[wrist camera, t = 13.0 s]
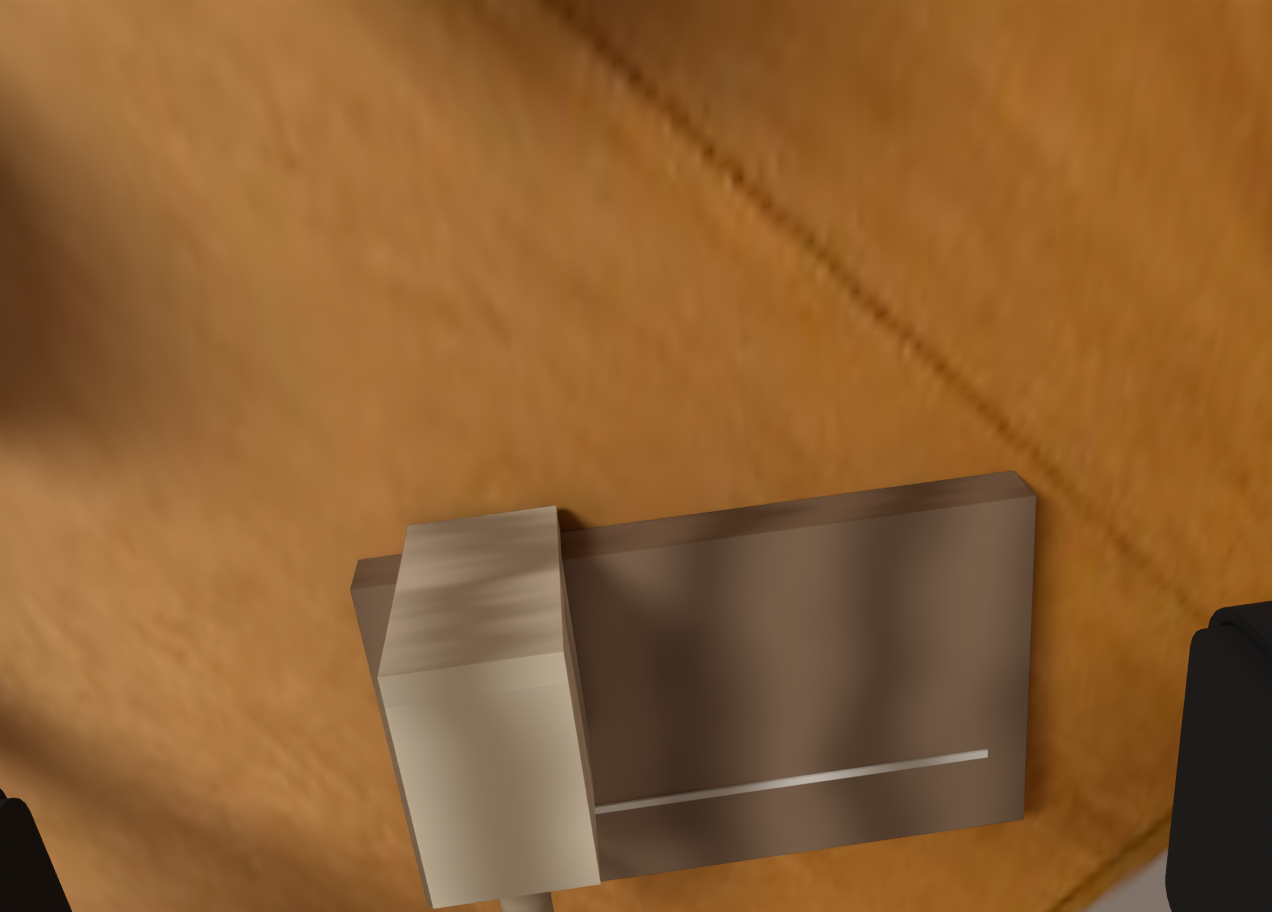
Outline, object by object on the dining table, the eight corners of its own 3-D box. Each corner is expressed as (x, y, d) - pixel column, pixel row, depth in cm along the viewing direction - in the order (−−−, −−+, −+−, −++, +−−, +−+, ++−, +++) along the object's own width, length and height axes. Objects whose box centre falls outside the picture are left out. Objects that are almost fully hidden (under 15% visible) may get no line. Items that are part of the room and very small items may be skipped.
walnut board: (1013, 470, 41) (1037, 497, 39) (1004, 784, 46) (1024, 821, 44) (358, 560, 40) (349, 591, 38) (431, 868, 46) (427, 908, 44)
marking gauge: (555, 505, 39) (563, 651, 31) (601, 801, 44) (617, 991, 36) (408, 525, 39) (377, 677, 31) (471, 820, 44) (459, 1015, 36)
